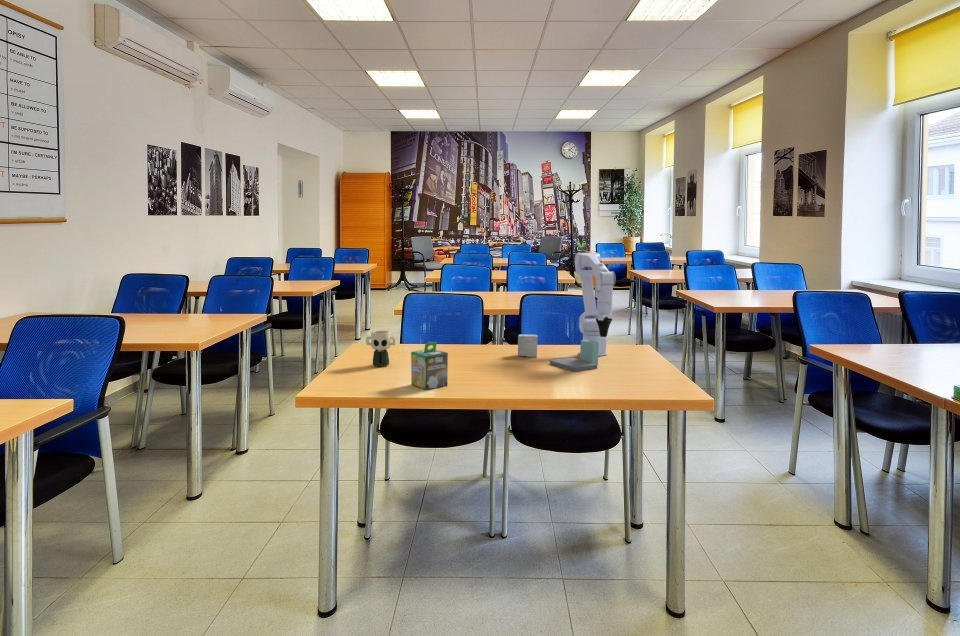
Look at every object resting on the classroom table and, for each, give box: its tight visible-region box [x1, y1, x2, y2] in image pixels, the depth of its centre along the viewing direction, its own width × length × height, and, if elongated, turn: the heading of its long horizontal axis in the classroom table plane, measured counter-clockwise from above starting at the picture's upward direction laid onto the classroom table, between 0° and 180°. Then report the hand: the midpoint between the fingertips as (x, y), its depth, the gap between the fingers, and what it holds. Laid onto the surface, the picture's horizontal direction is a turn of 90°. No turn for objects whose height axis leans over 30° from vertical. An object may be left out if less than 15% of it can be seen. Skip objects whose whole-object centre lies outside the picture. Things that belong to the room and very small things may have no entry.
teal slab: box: [579, 339, 599, 366], centre depth 249 cm, size 3×7×9 cm, turn 32°
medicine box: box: [517, 334, 538, 358], centre depth 263 cm, size 8×4×9 cm, turn 84°
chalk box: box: [410, 341, 449, 391], centre depth 212 cm, size 9×9×15 cm
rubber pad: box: [549, 357, 598, 373], centre depth 246 cm, size 11×15×2 cm
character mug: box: [365, 329, 396, 367], centre depth 241 cm, size 11×7×13 cm, turn 94°
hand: (603, 336), depth 252 cm, fingers closed
